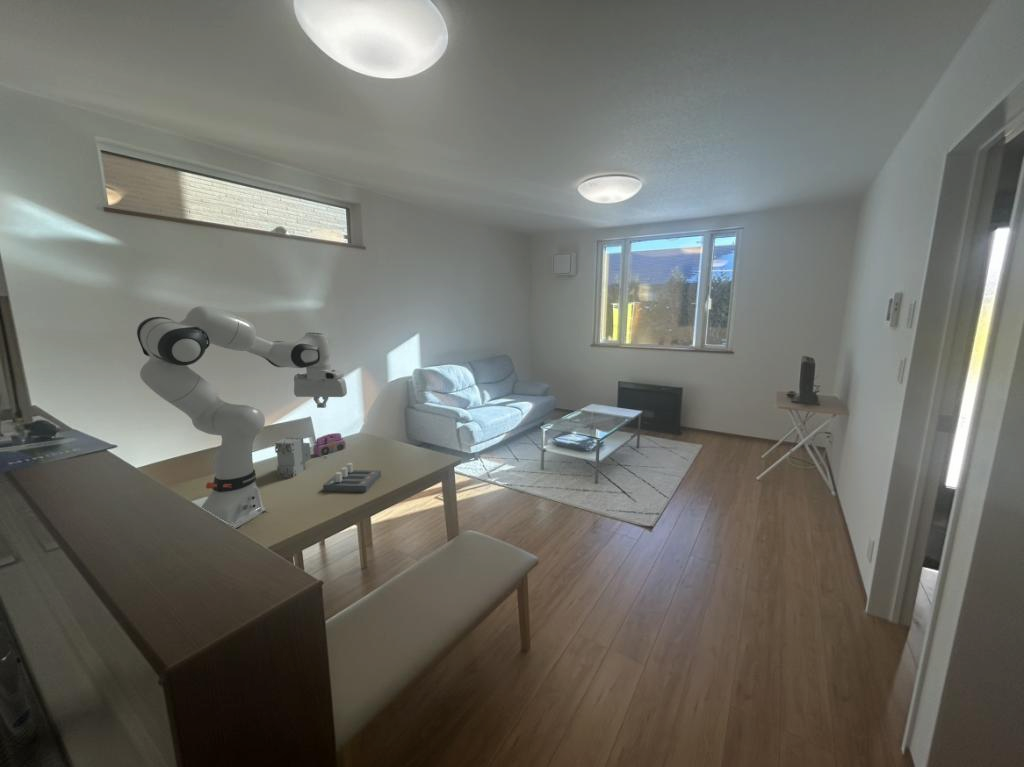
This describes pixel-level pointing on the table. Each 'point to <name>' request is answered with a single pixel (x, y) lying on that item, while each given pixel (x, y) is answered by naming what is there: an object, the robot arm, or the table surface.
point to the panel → (354, 481)
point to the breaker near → (338, 476)
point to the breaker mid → (344, 472)
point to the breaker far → (350, 467)
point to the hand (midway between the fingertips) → (321, 407)
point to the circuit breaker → (292, 456)
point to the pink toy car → (329, 444)
